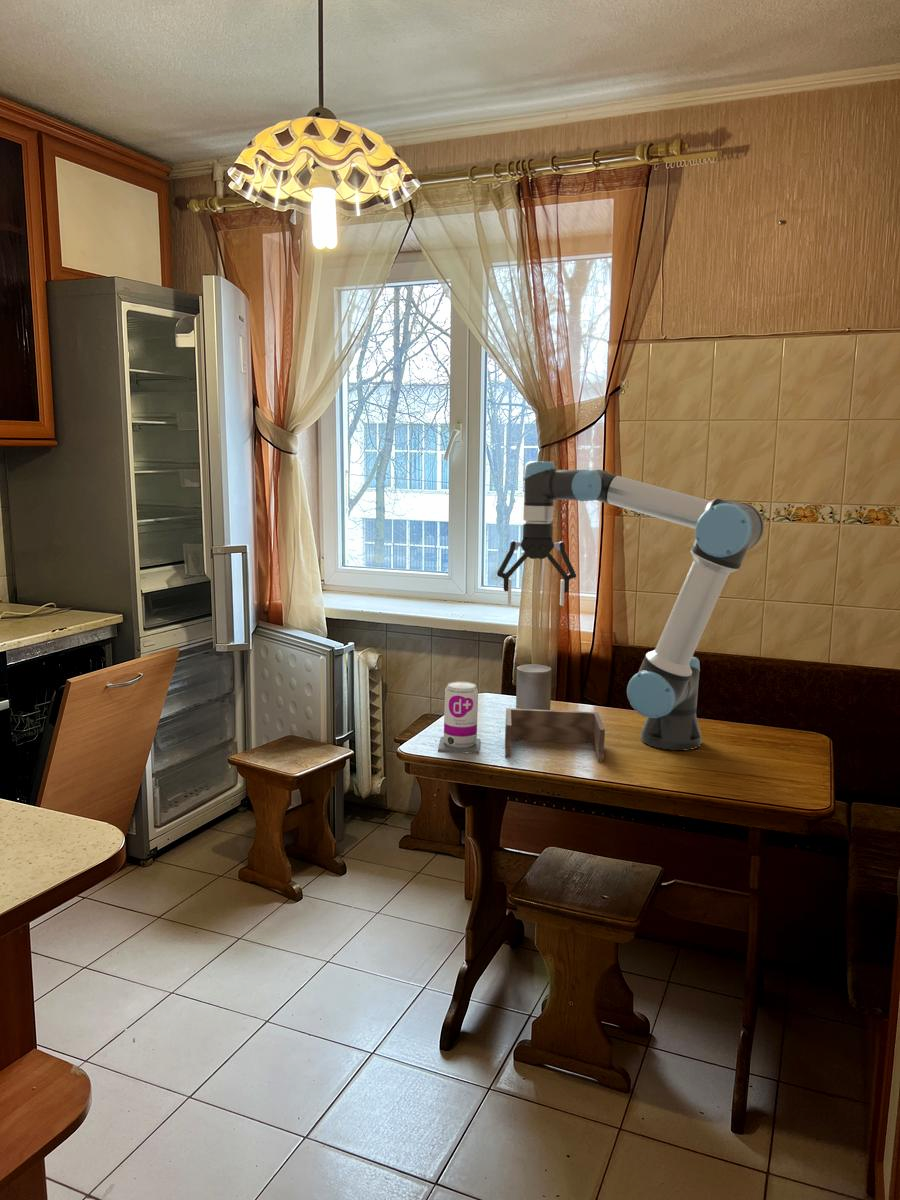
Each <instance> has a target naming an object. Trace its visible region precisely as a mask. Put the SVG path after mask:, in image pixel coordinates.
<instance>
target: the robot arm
mask: <svg viewBox="0 0 900 1200" xmlns="http://www.w3.org/2000/svg"><path fill="white" fill-rule="evenodd" d="M523 481H524V483H523V484H524V485H523V486H524V494H523V495H524V496H523V498H524V499H523V516H522V518H523V519H522V520H523V521H524V523H523V525H522V526H523V527H522V539H521V541H515V540H513V539H512V540H511V541H510V544H509V545H510V546H509V549H508V551H507V553H506V555H505V557H504V559H503V560H502V563H501V564H500V567H498V569H497V572H496V574H497V577H500V578H502V579H503V591H504V592H507V605H509V606H510V605H512V578H510V577H511V576H512V575H513V574H514V573H515V571H517V569H518V568H519V567H520V566H521V565H522V564H523V563H524V562H525V561H526V560H527V558H529V559H531V560H536V559H540V560H544V559H546V558H547V560H549V561H550V563H551V564H552V565H553V567H554V568H555V570H557V572H558V573H559V574H560V575H561V576H562V578H563V579H560V586H559V587H560V590H559V591H560V592H559V605H560V606H562V607H564V605H565V593H569V590H570V589H569V588H570V586H569V585H570V580H571V579H576V577H577V574H576V572H575V569H574V567H573V565H572V562H571V560H570V558H569V557H568V555H567V553H566V548H565V547H566V545H565V542H564V541H558V542H553V528H554V527H553V524H552V523H551V522H553V520H554V500H557V501H559V500H561V501H580V502H588V501H589V502H590V501H591V502H593V501H597V502H601V503H604V504H608V505H612V506H615V507H619V508H623V509H626V510H628V511H629V510H630V511H633V512H636V513H640V514H643V515H646V516H650V517H653V518H657V519H661V520H664V521H666V522H670V523H674V524H676V525H677V524H678V525H680V526H684V527H687V528H691V529H693V530H694V535H695V536H694V537H695V539H694V540H693V544H692V546H691V549H690V553H691V556H692V559H693V561H692V563H691V565H690V568H689V571H688V572H687V573H686V577H685V579H684V582H683V583H682V586H681V588H680V590H679V594H678V596H677V598H676V600H675V602H674V604H673V607H672V610H671V611H670V613H669V617H668V618H667V621H666V623H665V625H664V628H663V630H662V632H661V635H660V637H659V640H658V641H657V645H656V646H655V648H654V649H653V650H651V651H648V652H647V653H646V654H645V656H644V658H643V660H642V663H641V665H640V667H639V668H638V672H637V673H635V674H634V675H633V676H632V677H631V678H630V680H629V681H628V684H627V687H626V694H627V695H626V696H627V699H628V702H629V704H630V706H631V707H632V708H633V710H635V712H636V713H638V714H640V715H641V716H643V717H646V718H645V720H644V721H645V722H644V723H643V725H642V728H641V732H640V740H641V741H643V742H642V743H643V744H645V743H646V745H647V744H648V745H647V746H650V747H652V746H654V747H653V748H656V747H658V748H657V749H660V748H663V749H662V750H666V749H671V750H670V751H676V750H684V749H691V748H695V747H698V746H699V745H700V744H701V745H702V732H701V729H700V726H699V722H698V717H697V707H698V694H699V692H698V691H699V681H700V672H701V669H700V668H701V667H700V660H699V658H697V657H696V656H694V653H695V652H696V650H697V647H698V645H699V642H700V640H701V637H702V636H703V634H704V631H705V629H706V626H707V624H708V622H709V620H710V618H711V616H712V613H713V612H714V609H715V607H716V604H717V602H718V600H719V598H720V596H721V594H722V591H723V588H724V587H725V584H726V582H727V580H728V577H729V576H730V574H731V573H734V572H736V571H739V570H740V567H741V565H742V563H743V561H744V559H745V557H746V555H747V552H748V550H750V549H752V548H753V547H754V546H756V545H757V544H758V543H759V541H760V540H761V539H762V536H763V533H764V528H765V524H764V523H765V522H764V518H763V516H762V515H761V513H760V512H759V510H758V509H757V508H756V507H755V506H753V505H751V504H750V503H746V502H737V501H730V500H725V499H721V498H718V497H716V498H714V499H712V500H708V499H704V498H701V497H698V496H693V495H691V494H686V493H683V492H679V491H675V490H672V489H668V488H665V487H662V486H661V487H660V486H657V485H653V484H649V483H646V482H642V481H639V480H635V479H631V478H629V477H628V478H627V477H624V476H621V475H616V474H612V473H611V472H609V471H607V470H603V469H593V470H592V469H556V465H555V463H554V462H553V461H528V462H527V463H526V464H525V468H524V477H523ZM520 547H521V549H522V550H523V553H521V555H520V556H519V557H518V558H517V560H515V562H514V563H513V564H512V566H510V568H509V569H508V570H506V568H507V566H508V564H509V562H510V561H511V559H512V557H513V555H514V553H515V551H517V550H518V549H519V548H520ZM554 548H556V551H559V553H560V555H561V557H562V560H563V562H564V564H565V566H566V568H567V570H568V573H566V571H565V570H564V569H563V567H562V566H561V565H560V564H559V563H558V561H557V560H556V559H555V558H554V556H553V555H552V554H551V553H550V552H551V551H552V550H553V549H554ZM505 570H506V572H505Z"/></svg>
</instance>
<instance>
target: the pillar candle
mask: <svg viewBox="0 0 900 1200" xmlns="http://www.w3.org/2000/svg"><path fill="white" fill-rule="evenodd" d="M515 691H516V694H515V695H516V697H515V709H536V710H551V701H552V699H551V698H552V668H551V667H550V666H548V665H543V664H538V663H537V664H536V663H533V664H532V663H531V664H530V663H529V664H527V663H526V664H521V665H519V666H517V667H516V690H515Z"/></svg>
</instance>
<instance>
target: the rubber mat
mask: <svg viewBox="0 0 900 1200" xmlns="http://www.w3.org/2000/svg"><path fill="white" fill-rule="evenodd" d="M480 746H481V738H479V737H478V738H477V742H476V743H475V744H474V745H473V746H471V747H468V748H454V747H450V746H448V745H447V744H446V743H445V742H444V736H441V737H440V738H439V744H438V749H437V751H438V752H441V753H459V752H468V753H467V754H480V749H479V748H480Z"/></svg>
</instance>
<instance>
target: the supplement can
mask: <svg viewBox="0 0 900 1200" xmlns="http://www.w3.org/2000/svg"><path fill="white" fill-rule="evenodd" d="M478 707H479V690H478V688H477V685H476V684H475V683H474V682H469V681H452V682H449V683H447V686H446V687H445V689H444V714H443V717H444V719H443V737H444V742H445V743H446V744H447V745H448V746H450V747H454V748H468V747H471V746H473V745H474V744H475V743H476V742H477V737H478V736H477V735H478V733H477V732H478V712H479V711H478V710H479V709H478Z"/></svg>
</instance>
